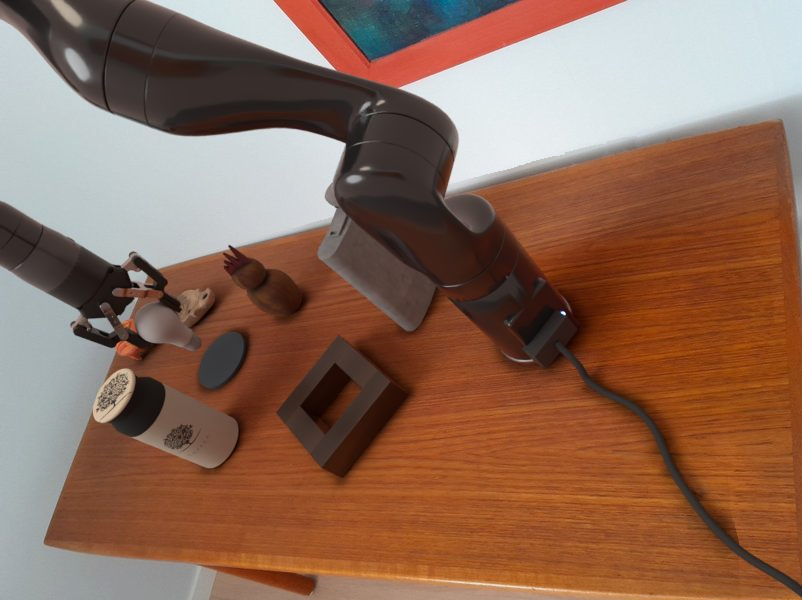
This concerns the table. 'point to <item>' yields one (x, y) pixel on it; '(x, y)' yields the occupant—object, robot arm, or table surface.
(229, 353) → the coaster
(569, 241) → the table surface
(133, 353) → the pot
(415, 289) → the hip flask
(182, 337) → the lightbulb
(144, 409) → the travel mug
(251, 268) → the wooden figurine
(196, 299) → the oil lamp
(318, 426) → the bulb stand
